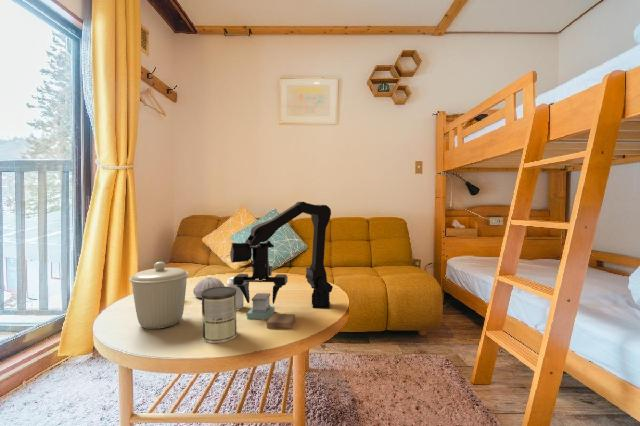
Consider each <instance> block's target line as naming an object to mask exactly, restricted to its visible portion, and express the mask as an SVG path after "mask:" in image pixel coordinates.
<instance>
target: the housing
mask: <svg viewBox="0 0 640 426" xmlns="http://www.w3.org/2000/svg"><path fill="white" fill-rule="evenodd" d="M270 297H271V292H270V293H268V292H267V293H266V292H262V293H261V292H260V293H259V292H258V293H257V292H256V294H255V295H254V296H253V297H252V298H251V301H252V307H253V310H252V313H266V312H267V311H268V309H269V308H270V306H271V304H270Z"/></svg>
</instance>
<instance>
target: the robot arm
mask: <svg viewBox="0 0 640 426" xmlns="http://www.w3.org/2000/svg"><path fill="white" fill-rule="evenodd" d="M301 214H306V215H310V218H311V223H312V225H313V234H312V235H313V238H312V253H311V254H312V255H311V264H310V266H309V267H306V269H305V271H306V275H305V279H306V282H307V283H308V284H309V285H310V287H311V289H313V290H312V291H313V292H312V293H311V305H312V308H314V309H317V308H318V309H330V307H331V302H330V294H331V293H332V291H333V288H334V287H333V285H332V284H331V283H330V282H329V281H328V278H327V270H326V268H325V250H326V249H325V247H326V246H325V245H326V235H327V227H328V226H329V225H328V224H329V223H330V220H331V216H332V210H331V208H330V207H329V206H328V205H326V204H312V203H307V202H306V201H297V202H296V203H295V204H294V205H292V206H291V207H289V208H287V209H286V210H284V211H283V212H281V213H279V214H278V215H276V216H274V217H273V218H272V219H269V220H267V221H263V222H261V223H258V224H256V225H254V226H252V228H251V229H250V234H249V236H248V237H247V238H246V240H245V241H244V242H232V243H231V247H230V252H229V256H230V262H231V263H243V262H249V261H250V260H251V259H252V264H251V268H252V275H251V276H249V274H248V273H238V274H236V275H234V276H235V277H234V278H233V285H237V287H239V288H240V289H241V291H242V293H243V296H244V299H245V300H246V302H247V304H249V303H250V289H249V288H250V283H273V286H272V299H271V300H272V301H271V302H272V304H273V305H274V304H275V302H276V299H277V295H278V292H279V290H280V289H281V288H283V286H286V284H287V283H288V282H289V281H288V279H289V278H288V275H287V274H282V273H281V274H280V273H278V274H276V275H275V276H272V272H273V270H272V269H273V267H272V266H270V262H269V260H270V259H269V248H274V247H275V245H274V244H273V243H272V242H271V241H270V240H269V239H271V237H273V236H274V234H275V233H276V232H277V231H278V230H279V229H280V228H282V227H283V226H284V225H286V224H288V223H290V222H291V221H292V220H294V219H296V218H297V217H298V216H299V215H301Z"/></svg>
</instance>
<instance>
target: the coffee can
mask: <svg viewBox="0 0 640 426" xmlns="http://www.w3.org/2000/svg"><path fill="white" fill-rule="evenodd" d="M201 296H202V298H201V321H202V322H201V323H202V324H201V326H202V327H201V328H202V330H201V331H202V337H201V338H202V340H203V342H206V343H208V344H221V343H225V342H229V341H231V340H233V339H235V338H236V337H237V335H238V332H237V331H238V330H237V329H238V327H237V310H236V289H235V288H233V287H227V286H225V287H213V288H209V289H206V290H204V291H202V292H201Z"/></svg>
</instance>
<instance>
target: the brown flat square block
mask: <svg viewBox="0 0 640 426" xmlns="http://www.w3.org/2000/svg"><path fill="white" fill-rule="evenodd" d="M295 321H296V314H294V313H289V314H288V313H273V314H272V315H271V317H270V318H269V319H267V321H266V329H273V330H274V329H276V330H277V329H278V330H279V329H280V330H284V329H285V330H292V328H293V327H294V324H295Z"/></svg>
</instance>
